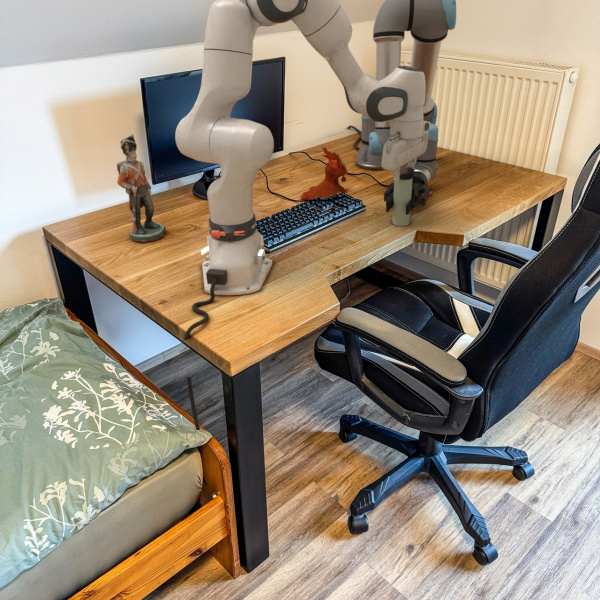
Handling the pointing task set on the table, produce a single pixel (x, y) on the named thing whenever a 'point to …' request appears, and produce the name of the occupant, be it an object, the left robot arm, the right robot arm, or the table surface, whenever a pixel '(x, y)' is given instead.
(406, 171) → the lid
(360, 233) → the table surface
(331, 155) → the toy
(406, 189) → the jar
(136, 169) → the figurine
